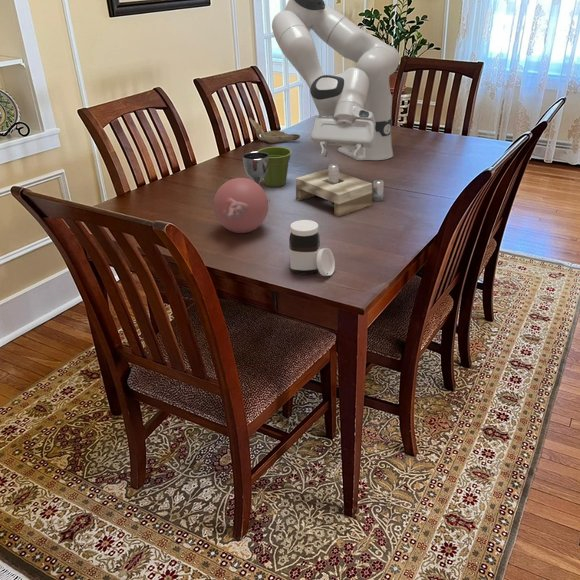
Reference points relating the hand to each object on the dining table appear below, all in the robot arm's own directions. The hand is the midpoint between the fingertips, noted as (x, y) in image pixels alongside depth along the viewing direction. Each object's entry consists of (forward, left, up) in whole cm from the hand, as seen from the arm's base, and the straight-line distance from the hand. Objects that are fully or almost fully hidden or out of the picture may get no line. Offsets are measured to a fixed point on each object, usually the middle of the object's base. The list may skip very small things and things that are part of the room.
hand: (338, 156), depth 183 cm
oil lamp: (-67, +27, -14) cm, 73 cm away
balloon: (0, -38, -14) cm, 41 cm away
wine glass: (-17, -19, -14) cm, 29 cm away
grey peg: (+1, -2, -14) cm, 14 cm away
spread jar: (+30, -37, -14) cm, 50 cm away
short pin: (+8, +10, -14) cm, 19 cm away
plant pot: (-26, -5, -14) cm, 30 cm away
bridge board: (0, -2, -14) cm, 14 cm away
